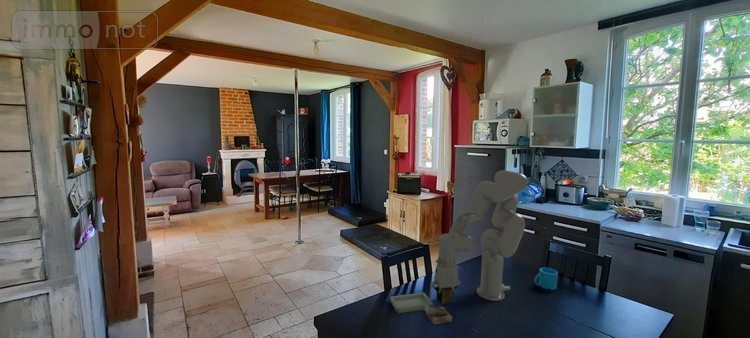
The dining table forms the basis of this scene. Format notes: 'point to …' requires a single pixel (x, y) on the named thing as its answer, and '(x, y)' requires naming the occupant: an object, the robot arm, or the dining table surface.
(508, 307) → the dining table surface
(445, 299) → the walnut block
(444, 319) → the square wooden frame
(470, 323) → the dining table surface
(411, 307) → the tray
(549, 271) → the mug
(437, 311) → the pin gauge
